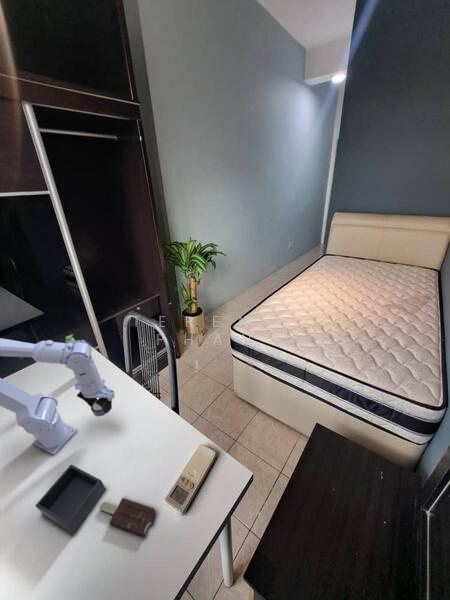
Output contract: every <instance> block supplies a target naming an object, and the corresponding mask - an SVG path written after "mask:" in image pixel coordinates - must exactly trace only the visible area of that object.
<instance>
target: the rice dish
mask: <svg viewBox="0 0 450 600" xmlns="http://www.w3.org/2000/svg"><path fill="white" fill-rule="evenodd" d="M97 400H98V399H97ZM97 400H96V401H97ZM96 401H95V402H96ZM95 402H94V403H93V404H92V406H91V407H90V410H91V412H92V415H93V416H94V417H102V416H105V415H106V414H107V413H105V412H104V411H103V409H102V407H101V406H100V405H98V404H96V403H95Z"/></svg>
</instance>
